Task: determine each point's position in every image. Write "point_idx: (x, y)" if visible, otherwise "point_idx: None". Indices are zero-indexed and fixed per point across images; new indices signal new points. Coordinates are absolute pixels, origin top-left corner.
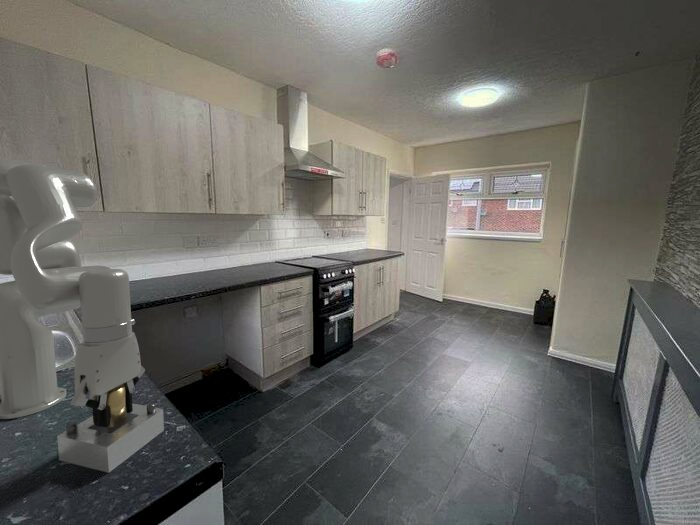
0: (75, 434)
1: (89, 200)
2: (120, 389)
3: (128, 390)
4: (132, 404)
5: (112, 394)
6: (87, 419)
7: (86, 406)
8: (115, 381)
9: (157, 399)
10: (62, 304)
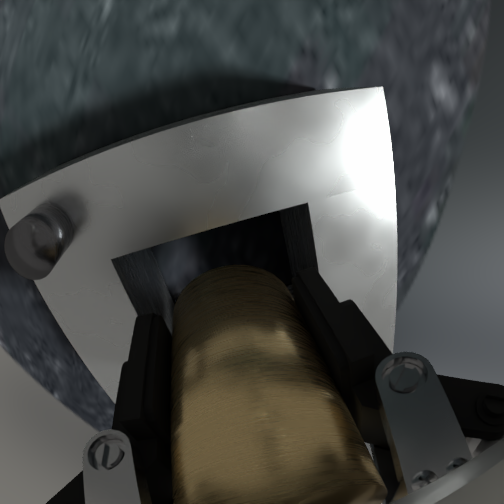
0: (59, 270)
1: None
2: None
3: (374, 452)
4: (387, 215)
5: None
6: (147, 141)
7: (72, 489)
8: None
9: (469, 81)
10: None
